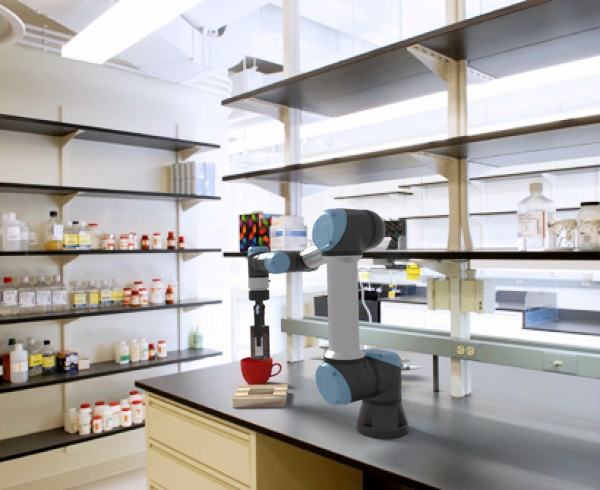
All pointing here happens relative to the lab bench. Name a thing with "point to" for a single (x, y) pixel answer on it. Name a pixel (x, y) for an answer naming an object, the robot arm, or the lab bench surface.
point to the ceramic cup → (257, 370)
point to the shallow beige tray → (260, 396)
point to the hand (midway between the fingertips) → (260, 353)
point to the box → (265, 343)
